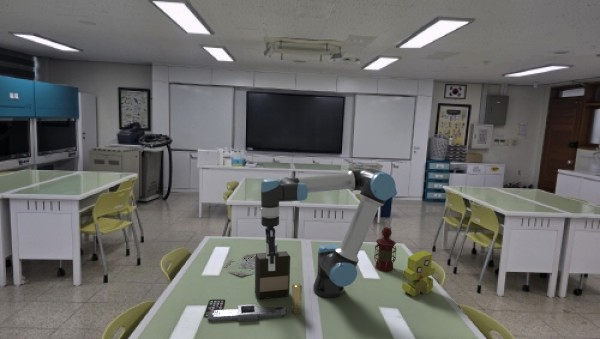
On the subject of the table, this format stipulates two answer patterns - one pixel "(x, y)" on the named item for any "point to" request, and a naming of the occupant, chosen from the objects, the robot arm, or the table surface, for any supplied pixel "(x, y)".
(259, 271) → the bottle
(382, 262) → the lantern
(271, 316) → the grey metal bar device
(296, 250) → the table surface
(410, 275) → the toy
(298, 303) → the pin
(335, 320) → the table surface
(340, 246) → the robot arm
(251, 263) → the stone slab
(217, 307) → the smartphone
